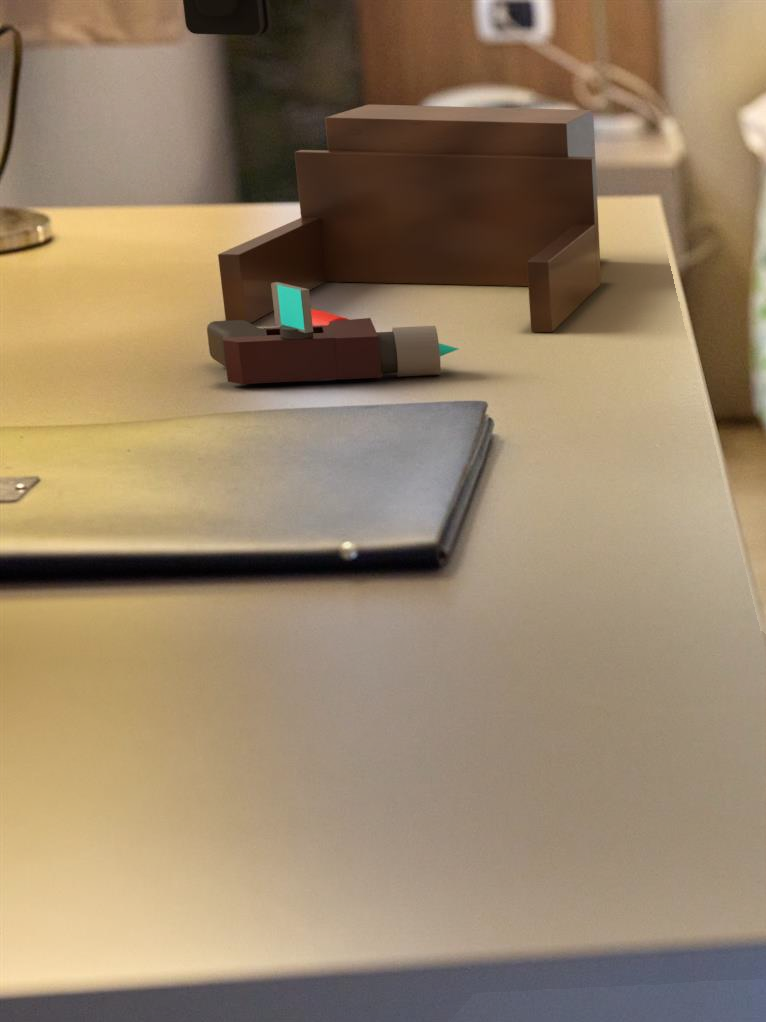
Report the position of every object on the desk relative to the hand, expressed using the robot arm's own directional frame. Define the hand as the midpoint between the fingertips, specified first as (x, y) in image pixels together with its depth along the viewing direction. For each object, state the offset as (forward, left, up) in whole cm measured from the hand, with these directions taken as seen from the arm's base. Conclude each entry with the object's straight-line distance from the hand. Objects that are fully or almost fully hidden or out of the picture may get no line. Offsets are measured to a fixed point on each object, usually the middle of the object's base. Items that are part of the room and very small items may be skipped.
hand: (230, 32), depth 86 cm
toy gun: (0, +10, -17) cm, 20 cm away
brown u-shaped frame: (0, +32, -17) cm, 37 cm away
